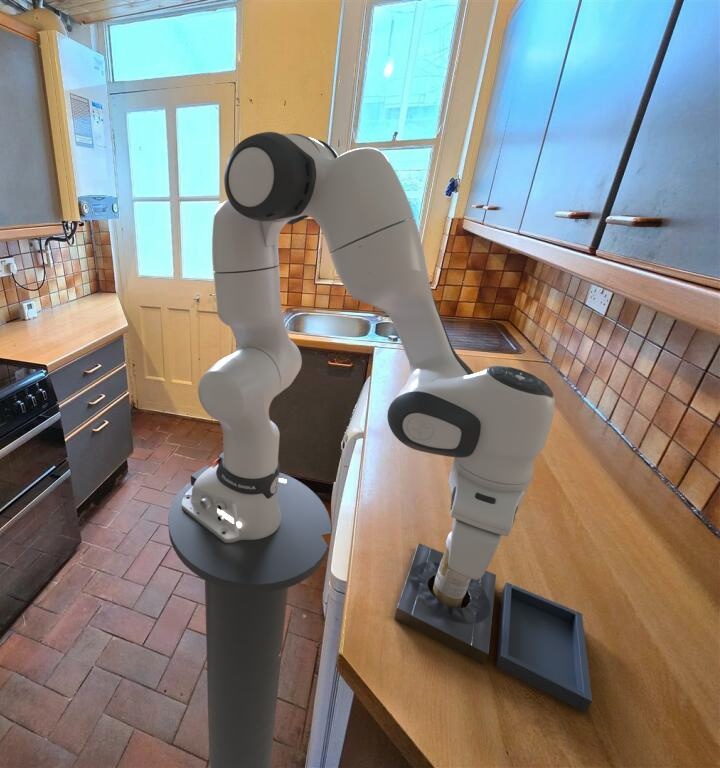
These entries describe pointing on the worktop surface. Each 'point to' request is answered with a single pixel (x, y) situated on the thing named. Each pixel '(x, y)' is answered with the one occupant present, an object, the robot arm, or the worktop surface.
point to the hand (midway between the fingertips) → (463, 555)
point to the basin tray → (544, 646)
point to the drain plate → (447, 608)
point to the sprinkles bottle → (448, 582)
